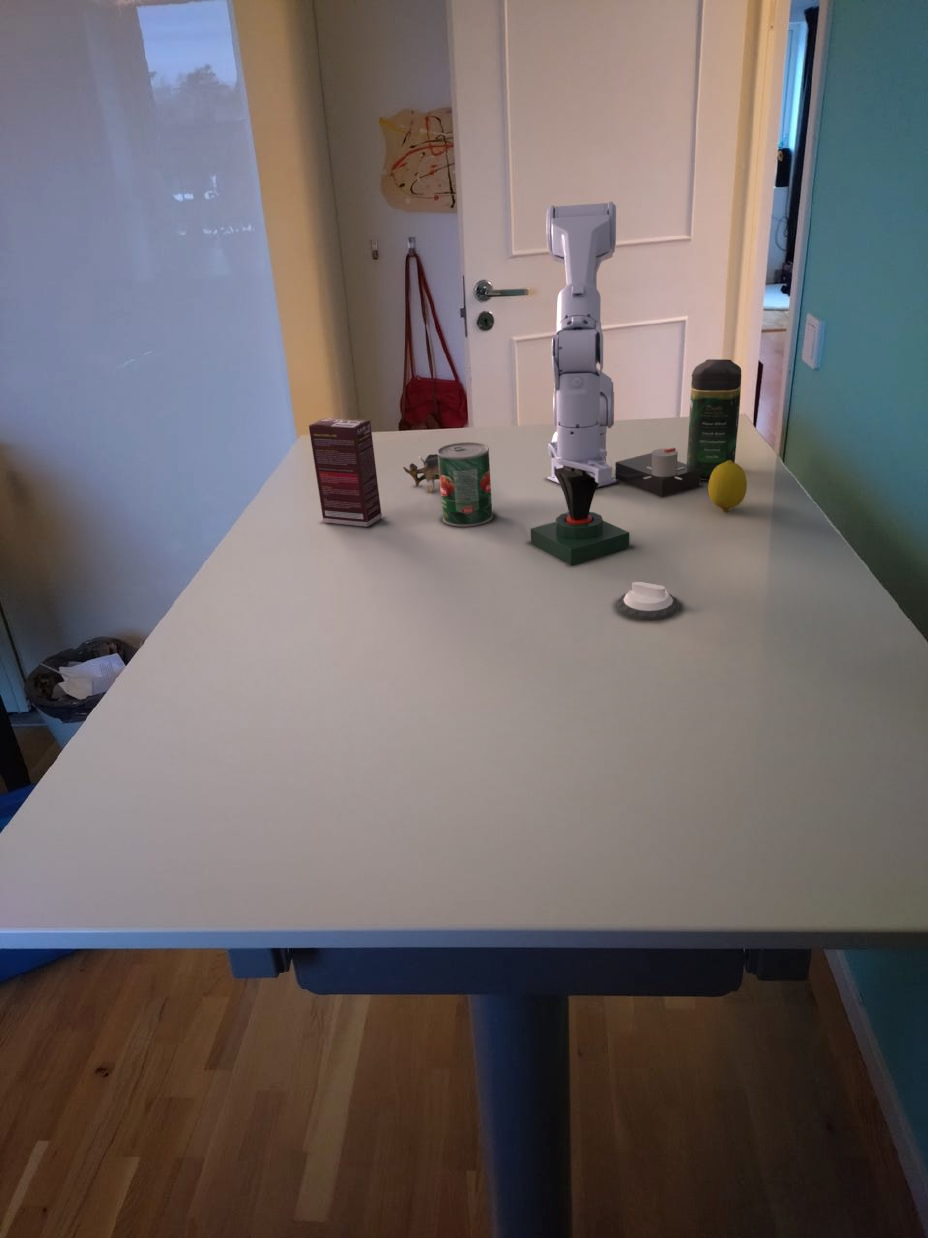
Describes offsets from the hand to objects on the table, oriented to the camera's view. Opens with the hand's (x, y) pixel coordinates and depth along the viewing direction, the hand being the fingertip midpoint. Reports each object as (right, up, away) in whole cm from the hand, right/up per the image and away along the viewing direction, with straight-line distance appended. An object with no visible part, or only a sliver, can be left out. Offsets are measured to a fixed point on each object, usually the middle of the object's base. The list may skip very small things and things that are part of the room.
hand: (579, 518), depth 126 cm
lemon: (+23, +2, +10) cm, 26 cm away
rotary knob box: (+16, +8, +22) cm, 28 cm away
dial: (+16, +9, +18) cm, 26 cm away
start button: (0, -1, +1) cm, 2 cm away
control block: (0, -4, +2) cm, 4 cm away
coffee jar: (+26, +10, +26) cm, 38 cm away
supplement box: (-34, +1, +17) cm, 38 cm away
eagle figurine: (-21, +8, +29) cm, 37 cm away
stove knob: (+6, -13, -17) cm, 22 cm away
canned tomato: (-16, +2, +15) cm, 22 cm away
